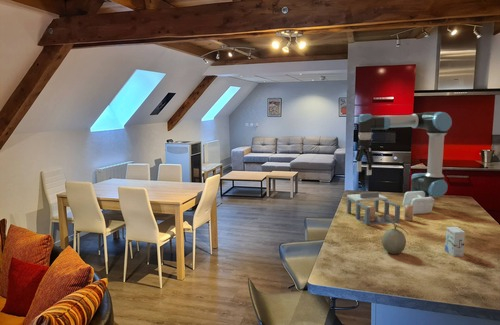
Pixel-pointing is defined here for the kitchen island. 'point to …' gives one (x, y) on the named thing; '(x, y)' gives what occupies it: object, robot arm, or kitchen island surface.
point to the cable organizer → (418, 202)
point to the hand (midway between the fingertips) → (363, 173)
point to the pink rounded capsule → (408, 213)
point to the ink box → (455, 241)
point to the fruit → (394, 240)
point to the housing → (367, 211)
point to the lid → (367, 197)
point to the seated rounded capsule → (372, 213)
